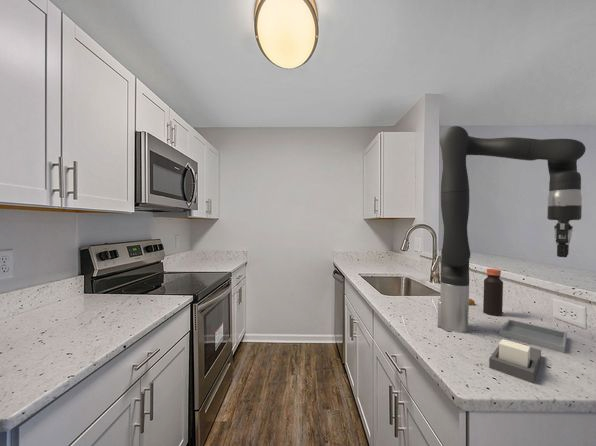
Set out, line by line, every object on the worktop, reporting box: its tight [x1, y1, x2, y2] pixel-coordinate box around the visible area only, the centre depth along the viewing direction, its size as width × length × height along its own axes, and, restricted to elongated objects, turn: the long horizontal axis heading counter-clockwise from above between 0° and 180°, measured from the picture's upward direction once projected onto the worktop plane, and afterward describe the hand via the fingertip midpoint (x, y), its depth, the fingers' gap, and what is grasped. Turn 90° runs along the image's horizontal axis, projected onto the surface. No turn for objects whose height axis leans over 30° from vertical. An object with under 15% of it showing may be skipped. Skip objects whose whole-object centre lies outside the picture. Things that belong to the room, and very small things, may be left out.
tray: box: [498, 318, 568, 354], centre depth 91 cm, size 16×16×2 cm
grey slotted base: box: [488, 345, 542, 384], centre depth 74 cm, size 9×18×3 cm, turn 132°
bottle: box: [482, 268, 504, 317], centre depth 114 cm, size 7×7×20 cm
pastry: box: [469, 298, 476, 306], centre depth 130 cm, size 9×7×4 cm
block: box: [498, 338, 531, 368], centre depth 71 cm, size 6×4×6 cm
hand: (562, 256), depth 82 cm, fingers open, 8 cm apart
